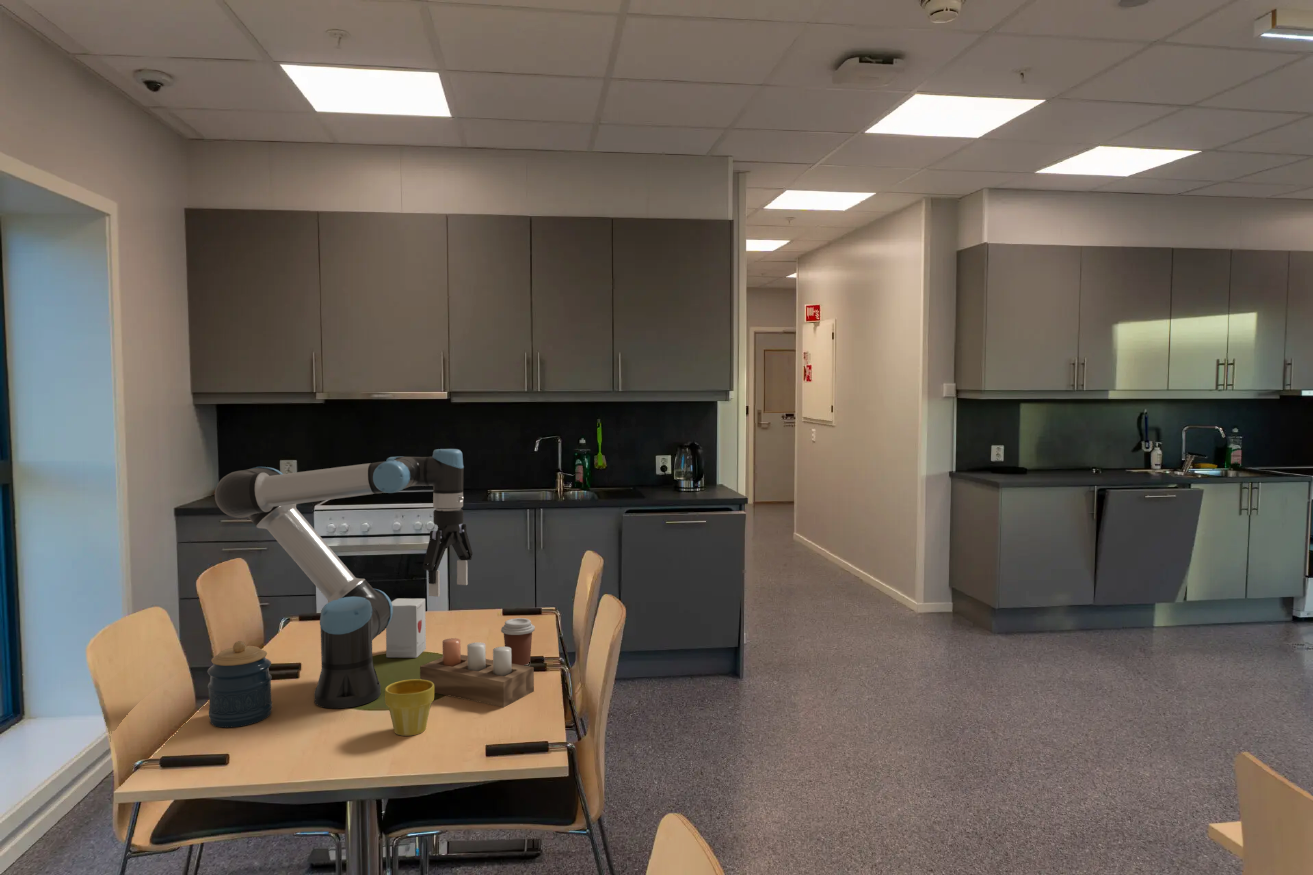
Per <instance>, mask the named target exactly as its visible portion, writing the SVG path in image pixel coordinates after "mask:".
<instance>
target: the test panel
mask: <svg viewBox="0 0 1313 875" xmlns="http://www.w3.org/2000/svg"><path fill="white" fill-rule="evenodd" d="M511 665H512V673H511V674H508V675H506V676H499V675H494V674H493V659H489V658H486V668H485V669H483V670H481V671H472V670H468V659H467V654H461V664H458V665H456V666H454V667H451V666H446V665H443V656H441V657H440V658H437V659H434V660H433V661H429V662H427V663H425V664H422V665H420V666H419V677H420V678H419V679H422V680H428V681H431V682H432V683H433V684H434V694H439V695H442V696H443V695H444V696H448V697H454V698H458V699H463V700H467V701H472V702H477V703H483V704H486V705H487V704H488V705H491V706H496V707H501V708H505V707H507V706H510V705H511V704H512V703H515V702H516V701H518V700H520V699H522V698H524V697H526V696H528V695H530V694H531V693H533V692H535V678H534V676H535V674H534V669H535V668H534V666H530V665H529V666H523V665H518V664H512V663H511Z"/></svg>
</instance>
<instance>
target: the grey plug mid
mask: <svg viewBox="0 0 1313 875" xmlns="http://www.w3.org/2000/svg"><path fill="white" fill-rule="evenodd" d="M466 648H467V649H466V651H467V653H466V655H467V659H468V670H472V671H481V670H483V669H485V668H486V659H487V657H486V652H487V651H486V643H484V642H480V641H479V642H476V641H475V642H471V643H468V644H467V646H466Z"/></svg>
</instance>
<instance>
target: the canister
mask: <svg viewBox="0 0 1313 875" xmlns="http://www.w3.org/2000/svg"><path fill="white" fill-rule="evenodd" d="M267 654H268V653H267V651H266V650H264V649H262V648H260V647H258V646H254V645H246V643H245V642H244V641H241V640H238V641H235V642H234V643H233V645H232V647H230V648H227V649H224V650H221V651H220V652H218V654H217V655H214V657H212V658H211V663H212V664H213V665H211V666H210V667H209V668H208V669H207V671H206V672H207V675H209V676H210V678H209V679H210V680H209V682H208V685H207V688H208V700H209V701H208V703H209V705H208V706H209V709H208V719H209V722H210V725H212V726H214V727H217V728H238V727H243V726H248V725H249V726H250V725H251V724H252V725H253V724H256V723H258V722H261V721H263V720H266V719H267V718H268V717H269V716H271V713H272V709H273V701H272V684H271V683H272V674H270V670H269V668H270V667H271V666H272V661H271V660H270V659H268V658H266V657H267Z"/></svg>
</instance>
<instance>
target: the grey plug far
mask: <svg viewBox="0 0 1313 875" xmlns="http://www.w3.org/2000/svg"><path fill="white" fill-rule="evenodd" d="M492 660H493V674H494V675H499V676H506V675H508V674H511V673H512V665H511V648H510V647H505V646H498V647H495V648H493V649H492Z"/></svg>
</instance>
